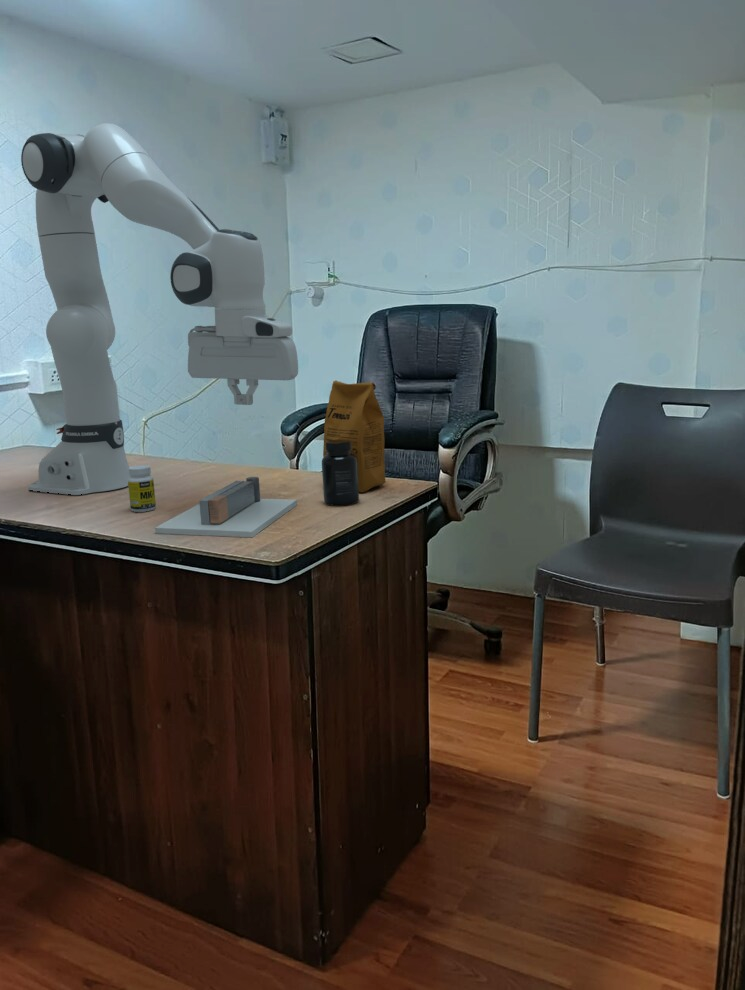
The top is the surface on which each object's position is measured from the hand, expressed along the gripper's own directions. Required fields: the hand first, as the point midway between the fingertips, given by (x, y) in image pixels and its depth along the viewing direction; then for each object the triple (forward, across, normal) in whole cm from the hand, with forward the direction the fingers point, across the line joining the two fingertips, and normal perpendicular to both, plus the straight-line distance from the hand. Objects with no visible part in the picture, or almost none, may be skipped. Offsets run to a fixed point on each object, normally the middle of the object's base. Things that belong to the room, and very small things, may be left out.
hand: (243, 404), depth 144 cm
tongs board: (+20, -2, -4) cm, 21 cm away
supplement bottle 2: (+20, +15, +11) cm, 27 cm away
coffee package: (+20, +14, +24) cm, 34 cm away
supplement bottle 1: (+21, -22, 0) cm, 31 cm away
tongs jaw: (+19, -1, -4) cm, 19 cm away
